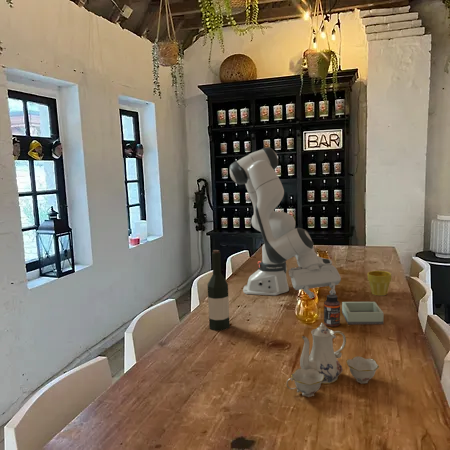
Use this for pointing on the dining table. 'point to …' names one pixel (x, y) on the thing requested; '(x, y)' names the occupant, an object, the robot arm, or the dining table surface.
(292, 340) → the dining table surface
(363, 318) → the grey-green square tray
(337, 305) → the supplement bottle
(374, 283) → the plant pot
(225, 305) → the wine bottle
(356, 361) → the chinaware
